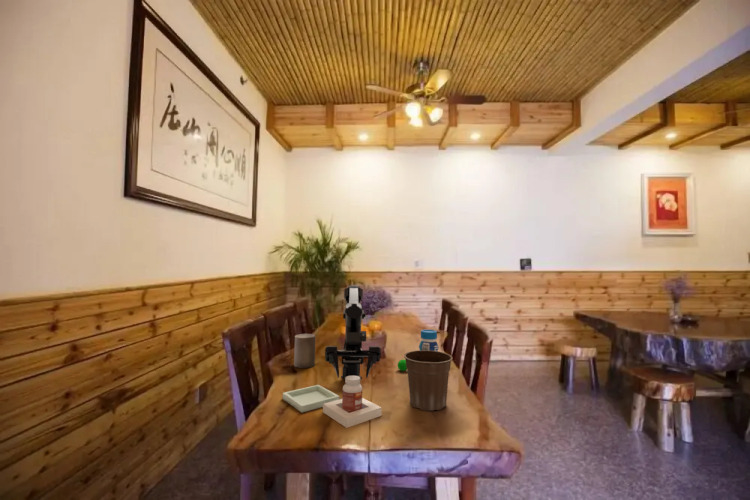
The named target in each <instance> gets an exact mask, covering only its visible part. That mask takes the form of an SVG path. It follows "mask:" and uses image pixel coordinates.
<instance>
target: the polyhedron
mask: <svg viewBox="0 0 750 500" xmlns="http://www.w3.org/2000/svg"><path fill="white" fill-rule="evenodd" d="M397 368H398V370H399V371H401V372H405V371H407V368H406V359H401V360H399V361H398V362H397Z"/></svg>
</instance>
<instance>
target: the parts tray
mask: <svg viewBox="0 0 750 500" xmlns="http://www.w3.org/2000/svg"><path fill="white" fill-rule="evenodd" d="M339 399H340V395H338V394H337V393H334V392H333V391H331V390H329V389H328V388H325V387H323V386H322V385H320V384H316V385H312V386H311V385H310V386H307V387H303V388H302V387H301V388H299V389H294V390H289V391H286V392H285V391H284V392H282V400H283V401H285V402H286V403H287V404H289V405H291V407H293V408H295V409H296V410H297V411H298V412H300V413H301V414H302V413H306V412H309V411H313V410H316V409H320V408H323V404H325V403H328V402H332V401H336V400H339Z"/></svg>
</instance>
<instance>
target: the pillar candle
mask: <svg viewBox="0 0 750 500" xmlns="http://www.w3.org/2000/svg"><path fill="white" fill-rule="evenodd" d="M293 348H294V350H293V351H294V353H293V355H294V356H293V359H294V360H293V366H294V367H295V368H297V367H298V368H299V369H307V368H312V367H314V366H316V363H315V362H316V335H315V334H314V333H306V332H305V333H300V334H296V335H294V347H293Z"/></svg>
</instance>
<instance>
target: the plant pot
mask: <svg viewBox="0 0 750 500" xmlns="http://www.w3.org/2000/svg"><path fill="white" fill-rule="evenodd" d="M403 357H404V360H406V368H407V370H406V371H407V378H408V380H407V381H408V390H409V402H410V404H411V406H412V407H413V408H415V409H418V408H419V410H422V411H427V412H435V411H434V410H437V411H441V410H443V409H444V408H445V407H447V398H448V397H447V396H448V386H449V385H448V384H449V376H450V375H449V374H450V371H451V363H452V360H453V356H452V355H450V354H449V353H446V352H442V351H439V350H438V351H430V350H420V349H419V350H411V351H408V352H406V353H404V355H403Z"/></svg>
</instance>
